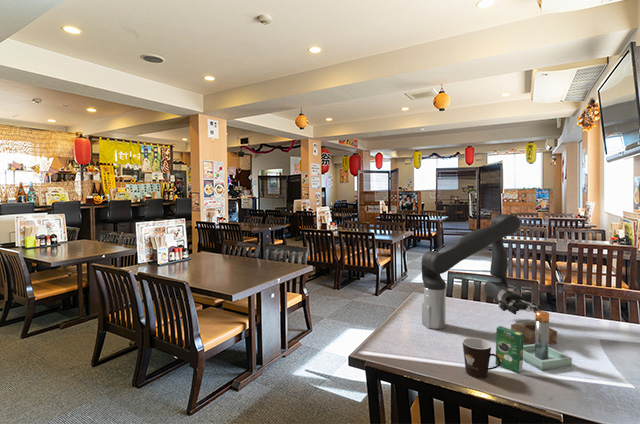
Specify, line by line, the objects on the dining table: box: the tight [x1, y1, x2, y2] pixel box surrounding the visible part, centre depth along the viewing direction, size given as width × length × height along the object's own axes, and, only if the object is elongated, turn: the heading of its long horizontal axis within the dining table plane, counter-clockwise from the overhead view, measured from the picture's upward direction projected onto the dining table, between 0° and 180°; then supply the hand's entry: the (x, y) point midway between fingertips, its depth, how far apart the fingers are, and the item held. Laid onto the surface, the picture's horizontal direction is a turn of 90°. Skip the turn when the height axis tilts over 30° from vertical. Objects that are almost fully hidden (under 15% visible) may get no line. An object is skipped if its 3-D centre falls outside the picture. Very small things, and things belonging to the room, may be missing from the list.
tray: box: [523, 344, 573, 372], centre depth 119 cm, size 12×12×3 cm
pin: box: [534, 310, 550, 360], centre depth 119 cm, size 4×4×16 cm
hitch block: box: [510, 321, 558, 346], centre depth 136 cm, size 12×10×5 cm
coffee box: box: [495, 325, 524, 374], centre depth 114 cm, size 8×3×13 cm, turn 35°
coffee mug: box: [462, 337, 501, 379], centre depth 109 cm, size 12×9×10 cm
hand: (527, 312), depth 129 cm, fingers open, 8 cm apart
